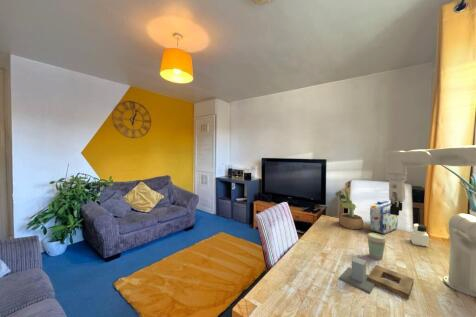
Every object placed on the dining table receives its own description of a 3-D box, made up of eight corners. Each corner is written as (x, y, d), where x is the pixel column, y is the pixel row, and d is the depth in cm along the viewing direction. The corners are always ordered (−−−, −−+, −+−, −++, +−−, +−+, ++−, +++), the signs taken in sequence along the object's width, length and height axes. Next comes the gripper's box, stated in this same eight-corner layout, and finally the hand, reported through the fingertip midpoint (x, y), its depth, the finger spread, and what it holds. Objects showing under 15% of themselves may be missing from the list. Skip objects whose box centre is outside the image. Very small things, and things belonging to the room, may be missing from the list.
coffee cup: (388, 262, 102) (389, 239, 102) (370, 260, 104) (371, 238, 103) (380, 253, 111) (381, 233, 110) (363, 252, 112) (364, 231, 112)
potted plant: (344, 220, 164) (345, 185, 163) (367, 227, 150) (369, 188, 148) (329, 225, 152) (330, 187, 150) (353, 234, 137) (354, 192, 136)
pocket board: (413, 283, 86) (413, 278, 86) (408, 299, 77) (408, 294, 77) (375, 268, 96) (375, 264, 96) (367, 281, 87) (367, 276, 87)
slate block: (365, 278, 88) (366, 261, 88) (362, 282, 85) (363, 265, 84) (354, 273, 91) (355, 257, 91) (351, 277, 88) (351, 260, 88)
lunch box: (383, 237, 132) (384, 205, 131) (367, 231, 141) (368, 201, 140) (399, 228, 147) (400, 200, 146) (383, 224, 155) (384, 197, 155)
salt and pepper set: (425, 242, 125) (425, 224, 124) (428, 247, 119) (429, 227, 118) (410, 239, 128) (411, 222, 128) (412, 244, 122) (413, 225, 122)
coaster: (377, 280, 88) (377, 278, 88) (369, 293, 80) (369, 291, 80) (348, 268, 96) (348, 266, 96) (339, 279, 89) (339, 277, 88)
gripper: (404, 179, 84) (404, 218, 84) (409, 175, 95) (408, 210, 96) (382, 178, 89) (382, 215, 89) (389, 174, 101) (389, 207, 101)
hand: (396, 212), depth 93 cm, fingers open, 9 cm apart
